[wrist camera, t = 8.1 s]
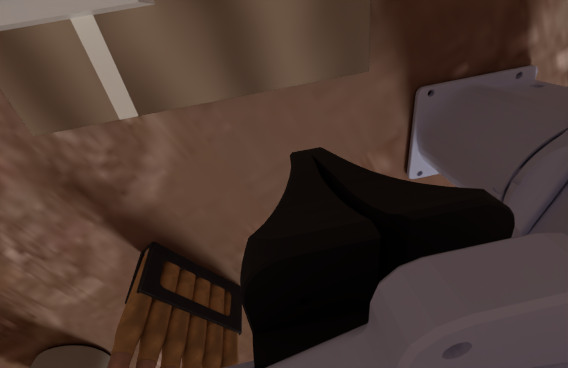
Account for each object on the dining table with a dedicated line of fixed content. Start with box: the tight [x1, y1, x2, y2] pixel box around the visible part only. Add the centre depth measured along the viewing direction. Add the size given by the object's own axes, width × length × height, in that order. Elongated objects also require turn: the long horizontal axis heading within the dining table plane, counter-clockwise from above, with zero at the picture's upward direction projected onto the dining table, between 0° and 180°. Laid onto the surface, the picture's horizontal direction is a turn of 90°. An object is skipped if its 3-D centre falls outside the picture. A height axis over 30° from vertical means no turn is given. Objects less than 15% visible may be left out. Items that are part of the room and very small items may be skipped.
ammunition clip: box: [107, 242, 242, 368], centre depth 22 cm, size 11×2×12 cm, turn 42°
